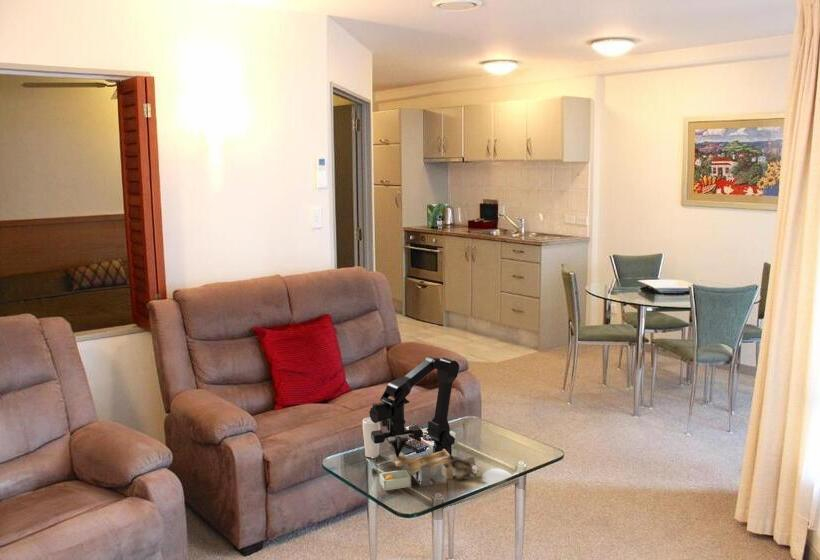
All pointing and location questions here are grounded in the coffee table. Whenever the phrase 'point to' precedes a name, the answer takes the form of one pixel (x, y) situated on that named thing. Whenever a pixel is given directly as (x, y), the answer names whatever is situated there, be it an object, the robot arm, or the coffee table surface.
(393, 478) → the ball
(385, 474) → the mint cubby shelf
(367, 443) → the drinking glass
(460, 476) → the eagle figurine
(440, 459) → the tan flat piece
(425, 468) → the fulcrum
